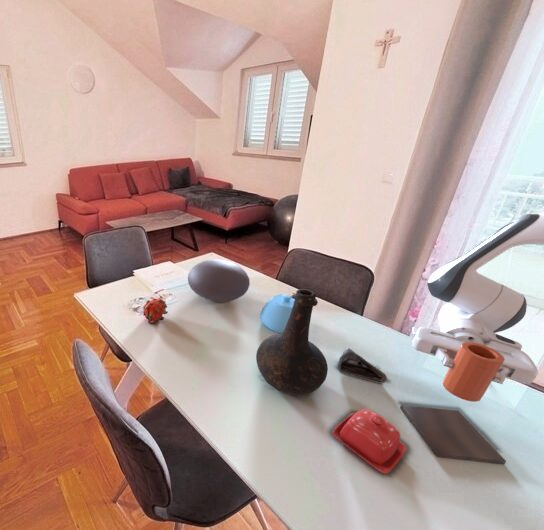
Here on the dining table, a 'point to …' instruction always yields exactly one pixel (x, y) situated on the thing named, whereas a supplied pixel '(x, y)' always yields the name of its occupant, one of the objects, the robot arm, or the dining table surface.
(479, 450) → the plate
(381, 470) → the butter dish
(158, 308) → the dragon fruit
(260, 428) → the dining table surface
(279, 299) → the sugar bowl
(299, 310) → the glass bottle
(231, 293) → the smooth stone
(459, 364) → the pot
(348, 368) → the chocolate cake
